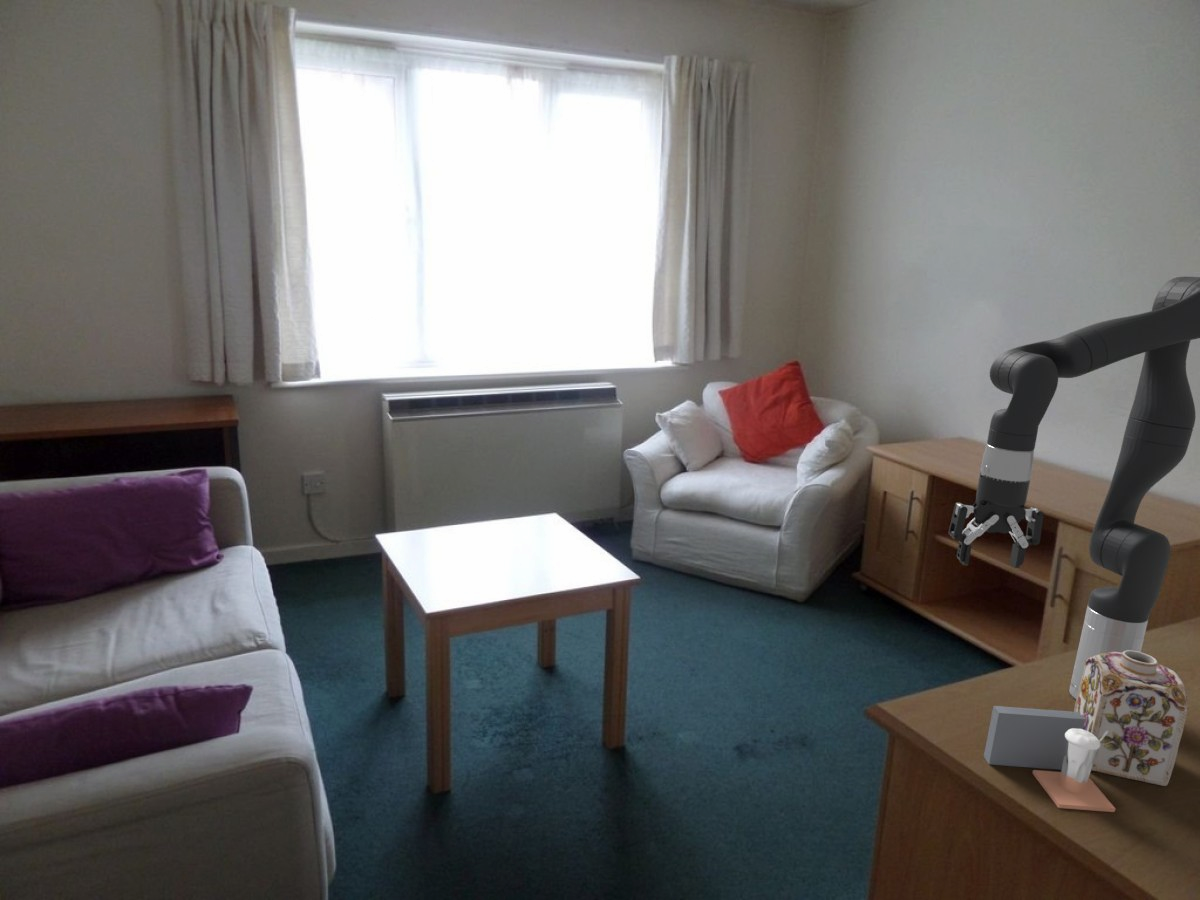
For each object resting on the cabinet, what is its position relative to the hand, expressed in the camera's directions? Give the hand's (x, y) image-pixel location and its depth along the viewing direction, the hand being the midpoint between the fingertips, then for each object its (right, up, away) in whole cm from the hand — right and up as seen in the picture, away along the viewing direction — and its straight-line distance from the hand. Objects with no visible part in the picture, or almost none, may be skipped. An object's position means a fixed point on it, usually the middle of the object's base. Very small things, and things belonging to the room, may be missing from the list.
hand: (988, 565), depth 139 cm
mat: (+4, -31, -17) cm, 36 cm away
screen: (+1, -30, -11) cm, 31 cm away
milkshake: (+5, -31, -17) cm, 35 cm away
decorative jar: (+17, -30, -8) cm, 35 cm away
